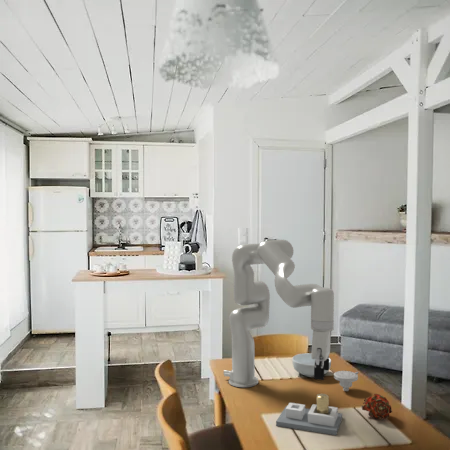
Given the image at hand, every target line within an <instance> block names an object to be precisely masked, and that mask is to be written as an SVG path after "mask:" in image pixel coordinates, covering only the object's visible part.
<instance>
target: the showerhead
mask: <svg viewBox="0 0 450 450" xmlns="http://www.w3.org/2000/svg"><path fill="white" fill-rule="evenodd" d="M333 378H334V379H335V381H339V386H340V387H342V390H343V391H344V392H349V390H350V389H349V388H351V387H353V383H354V382H357V381H358V379H359V372H358V371H355V372H354V371H349V370H348V371H347V370H338V371H335V372H334V373H333Z"/></svg>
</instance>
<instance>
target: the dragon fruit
mask: <svg viewBox="0 0 450 450" xmlns="http://www.w3.org/2000/svg"><path fill="white" fill-rule="evenodd" d="M362 404H363V405H361V409H362V411H366V412H368V416H369V417H370V418H375V419H376V420H382V421H383V420H384V419H388V418H390V414H391V413H393V410H392V406H391V404H390V402H389V400H388V399H387V398H386V397H385V396H383V395H382V394H378V393H374V394H373V396H368V397H366V398H364V402H362Z"/></svg>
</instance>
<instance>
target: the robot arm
mask: <svg viewBox="0 0 450 450" xmlns="http://www.w3.org/2000/svg"><path fill="white" fill-rule="evenodd" d="M293 255H294V247H293V245H292V243H291V242H290V241H288V240H286V239H269V240H264V241H262V242H261V243H245V244H241V245H238V246H236V247H235V248H234V250H233V252H232V255H231V262H232V267H233V301H234V303H235V304H236V305H238V306H245V307H239V308H235V309H234V310H232V311H231V312H230V314H229V317H228V323H229V327H230V333H231V334H230V335H231V368H232V369H231V370H226V369H223V376H224V377H229V378H228V385H229V384H230V385H231V386H232V387H237V388H251V387H255V386H256V385H258V384H259V379H258V377H257V376H255V371H256V370H255V366H256V365H255V340H254V337H253V335H252V333H251V332H250V331H252V330H256V329H262V328H265V327H266V326H267V325H268V323H269V319H270V298H271V297H270V296H271V295H270V290H269V287H268V285H267V284H266V283H265V282H264V281H261V280H255V271H254V269H253V267H252V266H251V265H266V266H267V268H268V269H269V270H270V272H271V273H272V274H274V287H275V291H276V294H277V295H278V296H279V297H280V299H281V300H282V301H283V302H284V303H285V305H287V306H289V307H290V308H302V307H310V329H311V330H312V338H311V353H312V355H311V358H312V359H313V360H314V359H315V365H314V377H313V379H314V380H318V381H319V380H321V381H324V379H325V374H324V370H329V371H330V369H329V359H327V358H330V353H331V332H332V331H334V327H335V326H334V324H335V323H334V322H335V321H334V319H335V318H334V316H335V313H334V311H335V308H334V307H335V305H334V304H335V302H334V301H335V293H334V290H333V289H332V288H329V287H323V286H322V285H321V286H320V285H318V284H316V283H307V284H297V285H293V284H292V283H291V282H290V281H289V279H288V278H289V277H290V276H291V275H292V274H293V273H294V271H295V266H296V264H295V262H294V261H293V260H292V258H293ZM249 305H251V306H249ZM252 305H253V306H252Z"/></svg>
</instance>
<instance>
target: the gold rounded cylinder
mask: <svg viewBox="0 0 450 450" xmlns="http://www.w3.org/2000/svg"><path fill="white" fill-rule="evenodd" d="M329 397H330V396H329V395H328V394H326V393H318V394H316V405H317V413H319V414H326V415H329V405H330V403H329V401H330V400H329V399H330V398H329Z"/></svg>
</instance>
